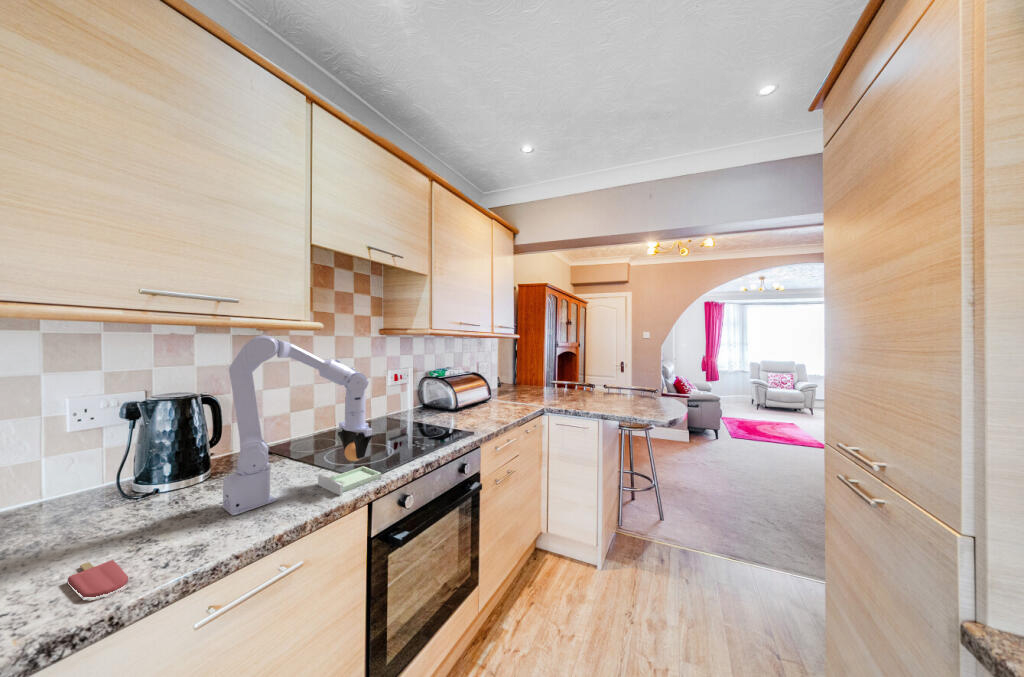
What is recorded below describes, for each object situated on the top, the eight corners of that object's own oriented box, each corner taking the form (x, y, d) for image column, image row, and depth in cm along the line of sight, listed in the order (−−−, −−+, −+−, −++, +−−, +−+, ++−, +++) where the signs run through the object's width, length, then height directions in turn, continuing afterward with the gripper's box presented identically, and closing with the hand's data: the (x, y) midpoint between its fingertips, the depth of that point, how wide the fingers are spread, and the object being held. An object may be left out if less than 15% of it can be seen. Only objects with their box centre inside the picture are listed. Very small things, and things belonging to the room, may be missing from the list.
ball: (351, 465, 99) (351, 446, 99) (340, 461, 102) (340, 442, 102) (368, 459, 104) (368, 441, 104) (357, 456, 107) (357, 438, 107)
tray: (344, 492, 95) (344, 486, 95) (326, 483, 100) (326, 478, 100) (381, 477, 105) (381, 472, 105) (363, 470, 110) (363, 466, 110)
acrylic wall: (340, 495, 93) (340, 484, 93) (317, 484, 100) (318, 474, 100) (342, 494, 93) (342, 484, 93) (319, 484, 100) (320, 474, 100)
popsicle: (105, 552, 66) (133, 578, 59) (105, 560, 66) (133, 587, 59) (60, 568, 61) (85, 599, 54) (60, 577, 61) (85, 608, 54)
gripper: (381, 412, 102) (381, 456, 102) (354, 406, 110) (353, 447, 110) (360, 416, 96) (359, 463, 96) (332, 409, 104) (332, 453, 104)
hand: (354, 455), depth 103 cm, fingers closed on ball, 6 cm apart
